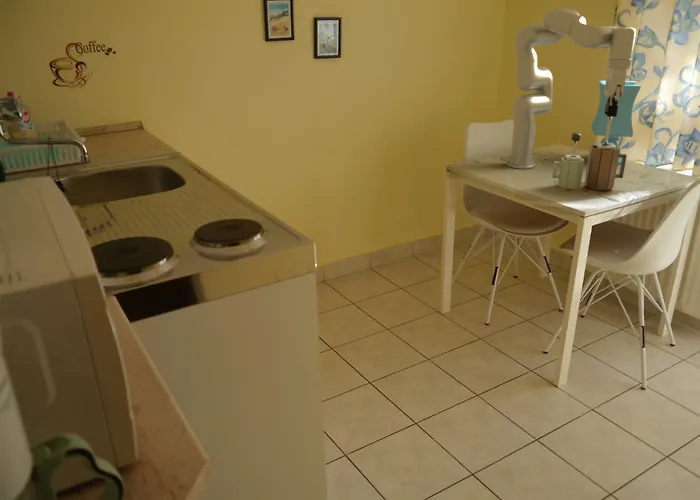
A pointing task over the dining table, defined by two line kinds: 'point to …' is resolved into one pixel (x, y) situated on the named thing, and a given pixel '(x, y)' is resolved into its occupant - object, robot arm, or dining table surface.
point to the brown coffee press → (603, 167)
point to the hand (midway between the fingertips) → (610, 115)
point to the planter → (623, 120)
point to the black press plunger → (607, 128)
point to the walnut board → (584, 189)
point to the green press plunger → (575, 141)
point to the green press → (569, 171)
